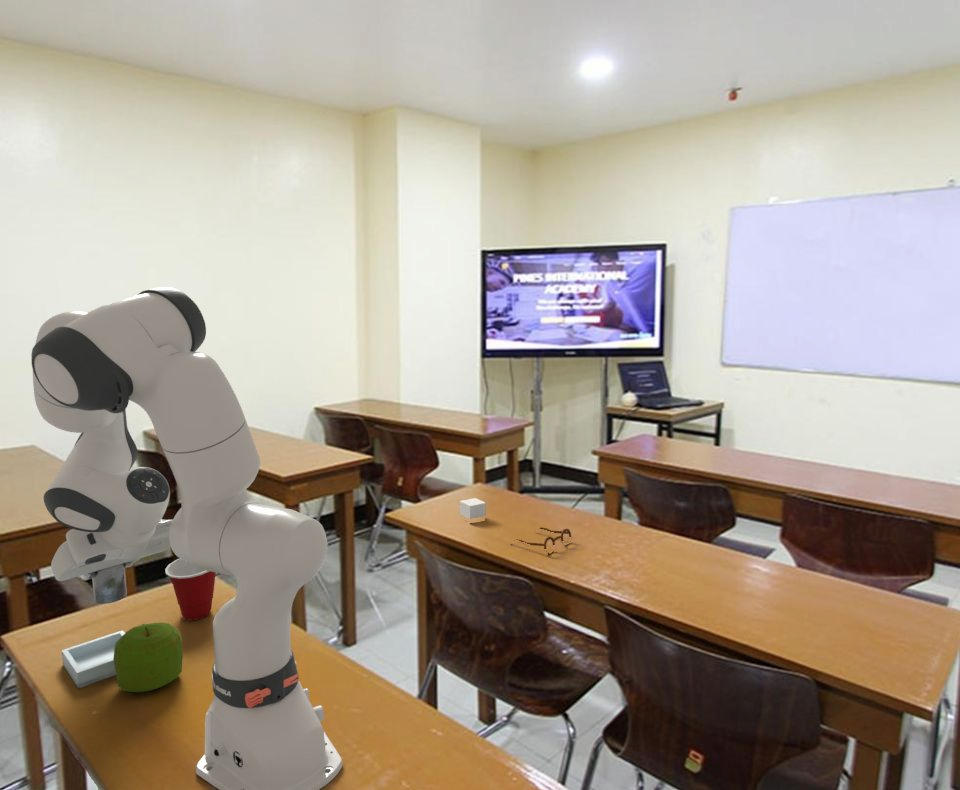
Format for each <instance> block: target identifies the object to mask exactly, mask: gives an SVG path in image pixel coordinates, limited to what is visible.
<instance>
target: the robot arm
mask: <svg viewBox="0 0 960 790" xmlns="http://www.w3.org/2000/svg"><path fill="white" fill-rule="evenodd" d="M206 335H207V326H206V321H205V318H204V316H203V314H202V312H201V310H200V308H199V306H198V305H197V304H196V302H195V301H194V300H193V299H192V298H191V297H189V296H188V295H187V294H186V293H184V292H183V291H181V290H179V289H177V288H174V287H169V286H165V287H164V286H163V287H154V288H150V289H146V290H143V291H140V292H139V293H137V295H134V296H130V297H127V298H123V299H120V300H118V301H116V302H112V303H110V304H106V305H102V306H99V307H97V308H95V309H92V310H91V311H88V312H86V311H65V312H61V313H59V314H55V315H53V316H52V317H49V318H48V319H47V320H45V322H43V323H42V325H40V328H39V330H38V332H37V335H36V338H35V339H36V340H35V344H34V345H33V347H32V350H31V354H30V355H31V356H30V357H31V368H32V383H33V385H32V386H33V393H34V394H33V395H34V400H35V401H34V402H35V405H36V407H37V410H38V412H39V414H40V416H41V417H42V419H43V420H44V421H45V422H47V423H48V424H50V425H51V426H53V427H54V428H57V429H59V430H62V431H65V432H70V433H77V434H78V433H79V436H78V437H77V440H76V442H75V443H74V445H73V448H72V450H71V451H70V453H69V454H68V455H67V457H66V459H65V460H64V462H63V463H62V465H61V467H60V469H59V471H57V472H56V474H55V476H54V478H53V479H52V481H51V483H50V484H49V486H48V488H47V490H46V491H45V492H44V494H43V502H44V506H45V509H46V510H47V511H48V513H49V515H50V516H51V517H52V518H53V519H54V520H55V521H56V522H58V523H59V524H60V525H62V526H64V527H67V528H69V530H68V531H66V533H65V539H66V541H64V542H62V544H60V546H59V547H58V548H57V550H56V551H55V554H54V556H53V558H52V560H51V562H50V563H51V564H50V566H51V571H52V574H53V577H54V578H55V580H56V581H59V582H65V581H68V580H72V579H74V578H77V577H81V576H82V577H83V579H84V581H88V580H92V578H94V576H95V571H98V570H102V569H105V568H109V567H112V566H115V565H119V564H122V563H124V566H125V569H127V568H130V567H132V566H133V565H134V563H136V562H137V561H139V560H140V559H142V558H145V557H149V556H151V555H152V556H153V555H155V554H160V553H162V552H166V551H167V550H169V549H171V551H172V553H174V555H175V556H176V557H177V558H178V559H180V558H181V559H183V560H184V561H186V562H188V563H190V564H191V565H193V566H195V567H197V568H199V569H202V570H206V571H211V572H215V573H216V574H220V575H224V576H229V577H232V578H234V581H235V583H236V593H235V596H234V597H231V599H229V600H228V601H227V602H225V603H224V604H223V605H222V606H221V607H220V609H219V610H218V611H217V612H216V614H215V616H214V618H213V621H212V638H213V641H212V642H213V656H214V663H213V664H212V668H211V669H212V670H211V671H212V672H211V685H212V691H213V694H214V696H213V698H212V701H211V703H210V705H209V707H208V709H207V711H206V714H205V717H204V754H203V755H202V757H201V758H200V759H199V761H197V762H196V767H195V773H196V775H197V776H198V777H201V778H202V779H203V780H205V781H206V782H207V783H209V784H211V786H213V787H215V788H216V789H218V790H320V789H322V788H323V787H325V786H326V785H327V784H329V783H330V782H331V781H332V780H333V779H334V778H335V777H336V776H337V775H338V774H339V772H340V771H341V770H342V768H343V765H344V763H343V758H342V757H341V755H340V754H339V752H338V750H337V749H336V747H335V746H334V744H333V743H332V741H331V739H330V738H329V737H328V735H327V734H326V732H325V730H324V729H323V726H322V723H321V722H323V721H324V720H325V711H324V710H325V709H324V707H323V706H322V705H321V704H319V705H316V706H314V707H313V705H312V703H311V701H310V699H309V697H310V691H309V688H307V687H306V688H303V686H302V683H301V682H300V678H299V677H300V674H299V671H298V668H297V667H298V666H297V660H296V659H295V655H294V652H293V650H292V649H291V615H292V608H293V604H294V603H293V602H294V600H295V598H296V596H297V594H298V592H299V590H300V589H301V588H302V587H303V586H304V585H306V584H307V583H309V582H310V581H311V580H312V579H313V578H314V577H315V576H317V574H318V573H319V572H320V570H321V568H322V567H323V565H324V563H325V561H326V558H327V553H328V552H327V551H328V539H327V534H326V531H325V529H324V526H323V524H321V522H320V521H318V520H317V519H315V518H313V517H311V516H309V515H307V514H304V513H302V512H298V511H296V510H294V509H292V508H291V509H290V508H286V507H281V506H280V507H279V506H273V505H267V504H261V503H259V502H255V501H254V500H253V499H251V497H250V496H249V494H248V491H247V489H248V488H249V487H250V486H251V485H252V483H254V481H255V479H256V477H257V475H258V473H259V471H260V467H261V459H260V456H259V453H258V450H257V447H256V445H255V441H254V439H253V436H252V433H251V430H250V428H249V425H248V421H247V419H246V416H245V414H244V411H243V409H242V406H241V403H240V402H239V400H238V397H237V395H236V393H235V391H234V389H233V387H232V385H231V384H230V381H229V380H228V378H227V377H226V375H225V373H224V372H223V370H222V369H221V367H220V366H219V364H218V363H217V361H216V360H214V358H213V357H211V356H209V355H208V354H206V353H204V352H203V353H202V352H200V351H198V349H199V348H200V347H201V346H202V344H203V343H204V341H205V339H206ZM129 402H133V403H135V404H136V405H138V406H139V407H141V408H142V409H143V411H145V412H146V414H147V415H148V417H149V419H150V421H151V424H152V426H153V428H154V430H155V431H154V432H155V434H156V436H157V439H158V441H159V443H160V446H161V448H162V450H163V451H162V452H163V453H164V455H165V458H166V460H167V462H168V465H169V467H170V469H171V471H172V474H173V476H174V479H175V481H176V484H177V487H178V490H179V495H180V500H181V501H180V502H181V507H180V508H179V510H178V511H177V512H176V514H175V515H174V516H173V517H174V518H173V519H172V518H171V519H163V517H164V515H165V513H166V511H167V508H168V505H169V502H170V498H171V497H170V496H171V490H170V489H171V488H170V485H169V482H168V480H167V478H166V477H165V476H164V475H163V474H162V473H161V472H160V471H158V470H156V469H154V468H151V467H147V466H142V467H136V468H134V469H132V468H133V465H134V464H135V462H136V461H137V459H138V456H139V455H138V454H139V453H138V448H137V447H138V446H136V442H135V441H134V439H133V437H132V436H131V434H130V431H129V428H128V422H127V420H128V419H127V412H126V411H127V410H126V409H127V407H128V405H129Z"/></svg>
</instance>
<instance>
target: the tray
mask: <svg viewBox="0 0 960 790" xmlns="http://www.w3.org/2000/svg"><path fill="white" fill-rule="evenodd" d="M125 633H126V632H125V631H124V630H123V629H122V630H120V631H117V632H113V633H110V634H107V635H104V636H100V637H98V638H96V639H92V640H89V641H86V642H83V643H80V644H76V645H73V646H70V647H67V648H65V649H62V650H61V658H62V666H63V667H64V669H65V670H66V671H67V673H68V675H69V677H70V678H71V679H72V681H73V682H74V684H75V686H77V688H78V689H81V688H84V687H86V686H90V685H92V684H94V683H98V682H100V681H103V680H106V679H108V678H112V677H114V676H116V670H115V664H114V659H113V658H114V649H115V645H116V642H117V641H118V640H119V639H120V638H121V637H122V636H123V635H124V634H125Z"/></svg>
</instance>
